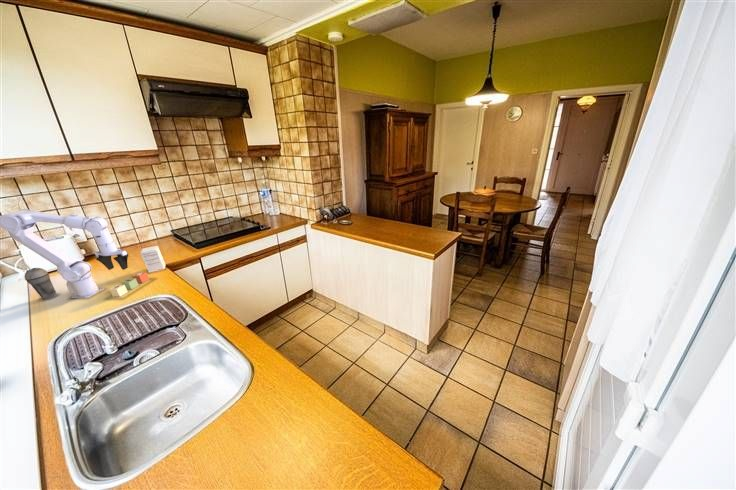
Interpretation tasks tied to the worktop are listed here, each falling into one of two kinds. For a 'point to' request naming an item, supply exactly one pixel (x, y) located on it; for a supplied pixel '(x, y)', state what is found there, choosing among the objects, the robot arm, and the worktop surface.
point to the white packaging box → (153, 259)
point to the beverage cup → (40, 282)
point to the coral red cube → (141, 277)
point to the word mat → (135, 287)
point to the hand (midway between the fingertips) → (118, 268)
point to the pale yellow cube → (118, 290)
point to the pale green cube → (130, 283)
